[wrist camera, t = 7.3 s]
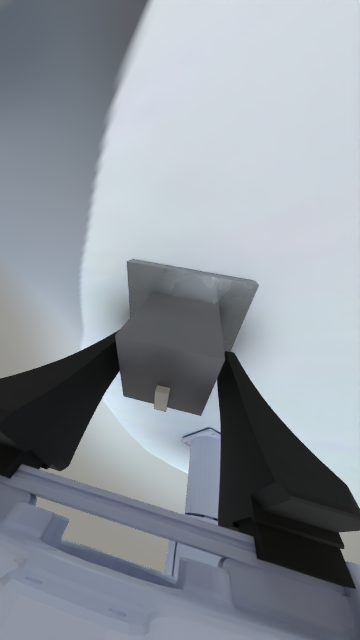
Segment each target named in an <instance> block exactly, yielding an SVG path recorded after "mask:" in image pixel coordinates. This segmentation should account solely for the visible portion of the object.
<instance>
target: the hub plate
mask: <svg viewBox="0 0 360 640" xmlns="http://www.w3.org/2000/svg"><path fill="white" fill-rule="evenodd" d="M127 271H128V287H129V303H130V318H131V317H132V316H133V315H134V314H135V313H136V312H137V310H138V309H139V308H140V307H141V306H142V305H143V304H144V303H145V302H146V301H147V299H148V298H149V297H150V296H151V295H152V294H153V293H154V292H157V293H162V294H167V295H172V296H177V297H183V298H188V299H193V300H198V301H203V302H208V303H214V304H219V312H220V320H221V329H222V338H223V346H224V353H225V351H228V352H230V350H231V348H232V346H233V343H234V341H235V339H236V336H237V334H238V332H239V330H240V327H241V325H242V323H243V320H244V318H245V316H246V314H247V311H248V309H249V307H250V304H251V302H252V300H253V298H254V295H255V293H256V291H257V288H258V286H259V285H258V283H257V282H256V281H252V280H247V279H241V278H235V277H230V276H224V275H219V274H213V273H207V272H202V271H196V270H191V269H185V268H179V267H174V266H168V265H162V264H157V263H151V262H146V261H140V260H134V259H132V260H129V261H127Z"/></svg>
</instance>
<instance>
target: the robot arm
mask: <svg viewBox="0 0 360 640" xmlns="http://www.w3.org/2000/svg"><path fill="white" fill-rule="evenodd" d="M117 333H118V331H117V332H115V333H113V334H112V335H110V336H108V337H106V338H105V339H103V340H101V341H99V342H97V343H95V344H93V345H91V346H89V347H87V348H85V349H83V350H81V351H79V352H77V353H75V354H73V355H70V356H68V357H66V358H64V359H61V360H58V361H56V362H53V363H50V364H47V365H44V366H42V367H39V368H36V369H33V370H29V371H26V372H23V373H19V374H16V375H13V376H9V377H5V378H1V379H0V640H360V565H358V564H355V563H349V562H345V560H344V558H343V555H342V553H341V550H340V549H344V544H343V542H342V539H341V537H340V535H339V532H348V531H359V530H360V508H359V506H358V505H357V503H356V501H355V499H354V497H353V495H352V493H351V492H350V490H349V488H348V486H347V485H346V484H345V483H344V482H343V481H342V480H341V479H340V478H339V477H337V476H336V475H335V474H334V473H333V472H332V471H331V470H330V469H329V468H328V467H327V466H326V465H325V464H323V463H322V462H321V461H320V460H319V459H318V458H317V457H316V456H315V455H314V454H313V453H312V452H311V451H310V450H309V449H308V448H307V447H306V446H305V445H304V444H303V443H302V442H301V441H300V440H299V439H298V438H297V437H296V436H295V435H294V434H293V433H292V431H291V430H290V429H289V428H288V427H287V426H286V425H285V424H284V423H283V422H282V420H281V419H280V418H279V417H278V416H277V415H276V414H275V412H274V411H273V410H272V409H271V407H270V406H269V405H268V404H267V402H266V401H265V400H264V399H263V397H262V396H261V395H260V393H259V392H258V390H257V389H256V388H255V386H254V385H253V383H252V382H251V380H250V379H249V377H248V375H247V374H246V372H245V371H244V369H243V367H242V366H241V364H240V362H239V360H238V359H237V357H236V355H235V354H234V353H233V352H228V351H225V353H224V355H225V361H224V363H223V366H222V368H221V370H220V373H219V375H218V377H217V386H218V397H219V408H220V421H221V434H219V433H217V432H216V431H214V430H212V429H207V430H204V431H201V432H198V433H195V434H193V435H190V436H187V437H184V438H182V442H184V443H185V444H187V445H189V446H191V450H190V461H189V473H188V484H187V495H186V506H185V514H179V513H176V512H173V511H169V510H166V509H163V508H160V507H157V506H154V505H151V504H147V503H144V502H141V501H138V500H135V499H131V498H128V497H125V496H122V495H119V494H115V493H112V492H109V491H106V490H103V489H99V488H96V487H93V486H90V485H87V484H83V483H80V482H77V481H74V480H71V479H68V478H64V477H61V476H58V475H55V474H52V473H48V472H45V471H42V470H39V469H40V467H41V468H44V469H48V468H52V469H55V470H58V471H62V470H63V469H65V468H66V467H68V466H69V464H70V462H71V460H72V458H73V455H74V453H75V451H76V449H77V447H78V445H79V442H80V440H81V438H82V436H83V434H84V432H85V430H86V428H87V426H88V424H89V422H90V420H91V418H92V416H93V414H94V412H95V410H96V408H97V406H98V404H99V403H100V401H101V399H102V397H103V395H104V394H105V392H106V390H107V389H108V387H109V386H110V384H111V383H112V381H113V380H114V378H115V377H116V375H117V374H118V372H119V371H120V367H119V360H118V353H117V346H116V338H115V335H116V334H117ZM36 496H38V497H41V498H44V499H47V500H50V501H53V502H56V503H59V504H62V505H65V506H68V507H71V508H74V509H77V510H81V511H84V512H87V513H89V514H92V515H95V516H98V517H101V518H104V519H108V520H111V521H113V522H117V523H120V524H123V525H126V526H129V527H132V528H135V529H138V530H141V531H144V532H147V533H150V534H153V535H156V536H159V537H162V538H165V539H168V540H169V543H168V548H167V554H166V561H165V571H164V573H162V572H159V571H157V570H153V569H151V568H149V567H146V566H143V565H140V564H138V563H134V562H132V561H129V560H126V559H124V558H121V557H118V556H115V555H112V554H109V553H106V552H103V551H100V550H97V549H94V548H91V547H88V546H85V545H82V544H79V543H76V542H73V541H69V540H66V539H63V538H62V535H63V533H64V530H65V529H66V527H67V525H68V523H69V519H68V518H66V517H63V516H60V515H57V514H55V513H52V512H50V511H47V510H44V509H41V508H38V507H36V501H37V498H36Z"/></svg>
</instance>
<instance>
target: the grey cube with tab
mask: <svg viewBox="0 0 360 640" xmlns="http://www.w3.org/2000/svg"><path fill="white" fill-rule="evenodd" d="M115 338H116V346H117V353H118V360H119V367H120V374H121V381H122V388H123V395H124V396H125V397H129V398H133V399H137V400H141V401H145V402H149V403H152V404H154V409H156V410H160V411H164V412H166V410H167V407H168V408H172V409H176V410H180V411H184V412H188V413H192V414H196V415H199V416H201V415H202V412H203V410H204V408H205V405H206V403H207V401H208V398H209V396H210V394H211V391H212V389H213V387H214V384H215V382H216V380H217V377H218V375H219V373H220V370H221V368H222V366H223V363H224V361H225V355H224V346H223V338H222V329H221V320H220V312H219V304H214V303H208V302H203V301H198V300H193V299H188V298H183V297H177V296H172V295H167V294H162V293H157V292H154V293H153V294H152V295H151V296H150V297H149V298H148V299H147V301H146V302H145V303H144V304H143V305H142V306H141V307H140V308H139V309H138V310H137V312H136V313H135V314H134V315H133V316H132V317H131V318H130V319H129V320H128V322H127V323H126V324H125V325H124V326H123V327H122V328H121V329H120V330H119V331H118V333H117V334H116V335H115Z"/></svg>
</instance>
